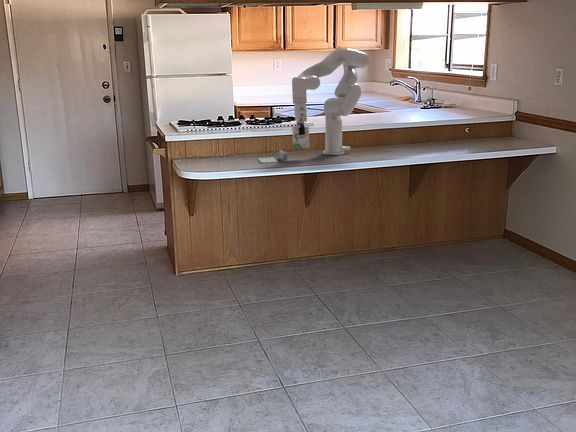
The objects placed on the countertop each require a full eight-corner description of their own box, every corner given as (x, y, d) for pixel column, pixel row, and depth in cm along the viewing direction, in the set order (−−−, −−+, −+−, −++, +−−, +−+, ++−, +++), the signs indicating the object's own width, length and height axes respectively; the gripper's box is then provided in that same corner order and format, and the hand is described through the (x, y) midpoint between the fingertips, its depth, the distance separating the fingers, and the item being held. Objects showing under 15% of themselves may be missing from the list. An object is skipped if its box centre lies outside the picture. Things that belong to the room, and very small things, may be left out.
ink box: (294, 148, 330) (293, 127, 326) (292, 147, 334) (291, 125, 331) (309, 147, 331) (309, 125, 327) (307, 145, 336) (307, 124, 332)
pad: (273, 158, 337) (273, 157, 337) (278, 162, 324) (278, 161, 324) (257, 159, 335) (257, 158, 335) (261, 163, 323) (261, 162, 323)
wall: (282, 158, 338) (282, 150, 336) (287, 162, 325) (287, 154, 324) (279, 158, 337) (278, 150, 336) (283, 162, 325) (283, 154, 324)
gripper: (310, 101, 318) (311, 136, 323) (302, 98, 334) (303, 131, 339) (296, 102, 316) (297, 137, 322) (289, 99, 332) (290, 132, 338)
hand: (300, 133), depth 330 cm, fingers closed on ink box, 5 cm apart
